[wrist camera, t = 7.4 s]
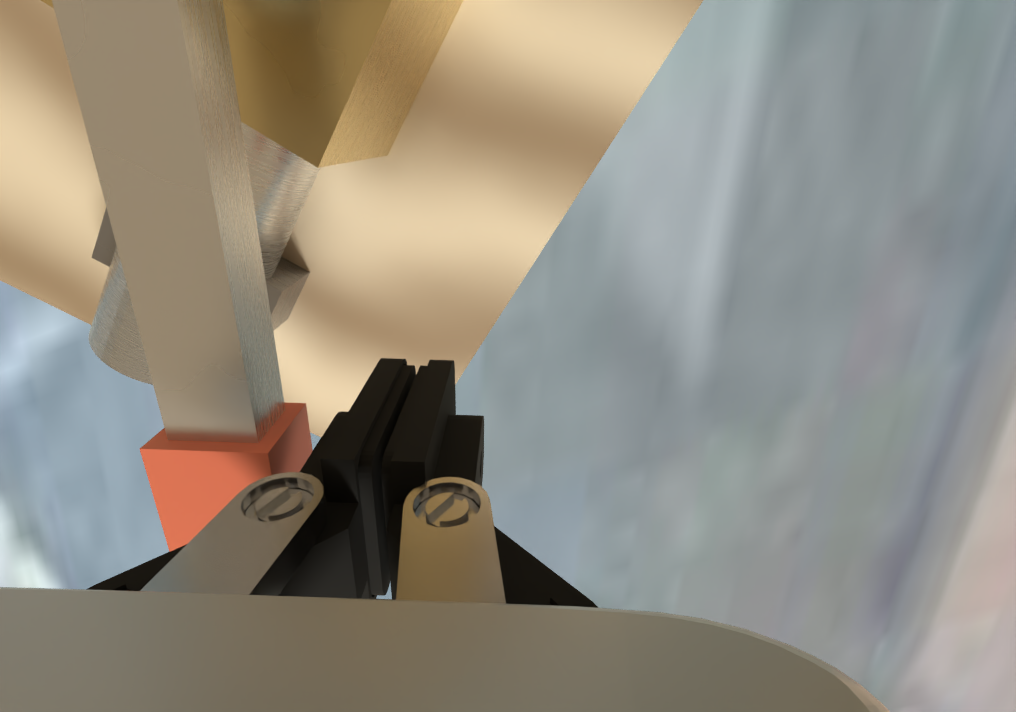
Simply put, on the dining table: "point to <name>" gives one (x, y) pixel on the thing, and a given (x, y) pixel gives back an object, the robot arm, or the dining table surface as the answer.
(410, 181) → the valve stand
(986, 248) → the dining table surface
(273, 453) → the valve lever
